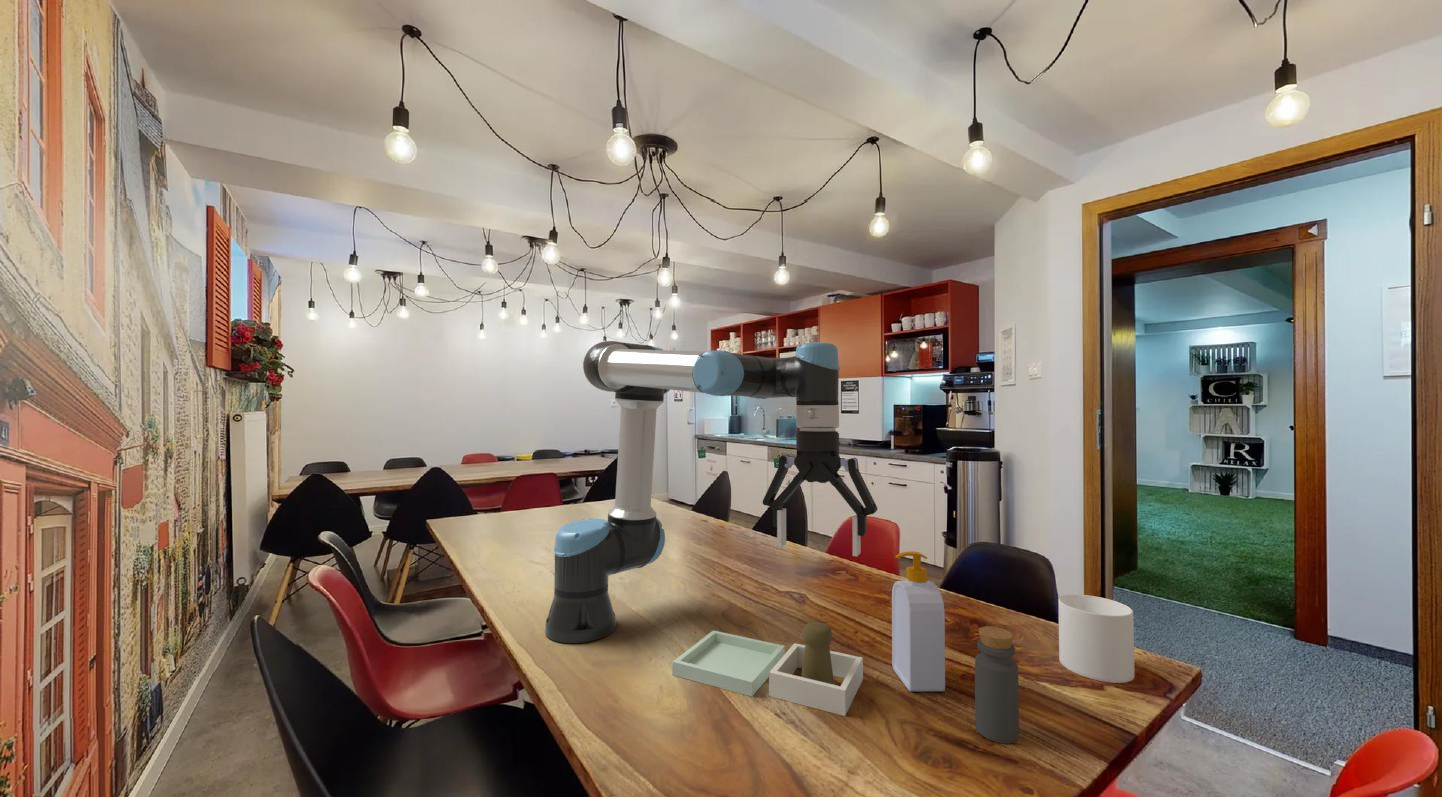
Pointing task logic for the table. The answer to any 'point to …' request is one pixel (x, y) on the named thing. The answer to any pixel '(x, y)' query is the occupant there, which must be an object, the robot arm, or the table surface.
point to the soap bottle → (918, 629)
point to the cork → (817, 653)
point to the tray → (729, 662)
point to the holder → (812, 690)
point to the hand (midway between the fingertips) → (818, 549)
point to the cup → (1096, 638)
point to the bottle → (996, 686)
